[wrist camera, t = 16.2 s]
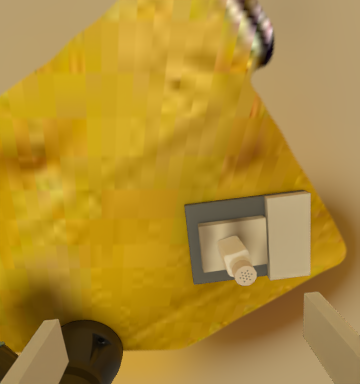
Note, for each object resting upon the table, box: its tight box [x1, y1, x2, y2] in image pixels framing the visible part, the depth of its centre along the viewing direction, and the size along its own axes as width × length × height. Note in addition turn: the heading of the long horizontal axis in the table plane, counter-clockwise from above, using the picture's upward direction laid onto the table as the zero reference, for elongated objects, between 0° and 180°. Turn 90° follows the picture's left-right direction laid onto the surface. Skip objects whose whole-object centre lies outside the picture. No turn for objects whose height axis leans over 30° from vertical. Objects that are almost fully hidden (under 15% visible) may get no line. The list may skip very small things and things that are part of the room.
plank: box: [198, 215, 268, 273], centre depth 44 cm, size 12×9×2 cm
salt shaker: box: [217, 236, 257, 286], centre depth 39 cm, size 4×4×10 cm
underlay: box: [185, 190, 311, 284], centre depth 45 cm, size 22×16×3 cm
